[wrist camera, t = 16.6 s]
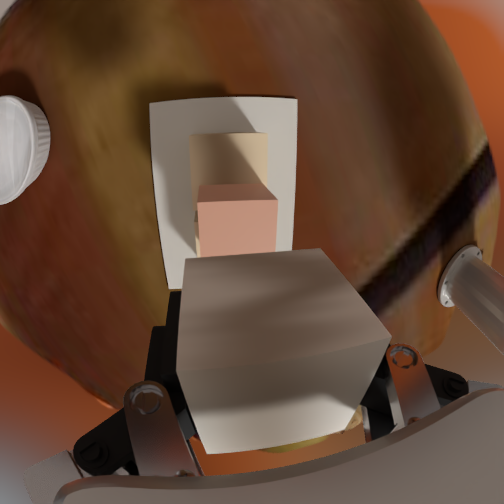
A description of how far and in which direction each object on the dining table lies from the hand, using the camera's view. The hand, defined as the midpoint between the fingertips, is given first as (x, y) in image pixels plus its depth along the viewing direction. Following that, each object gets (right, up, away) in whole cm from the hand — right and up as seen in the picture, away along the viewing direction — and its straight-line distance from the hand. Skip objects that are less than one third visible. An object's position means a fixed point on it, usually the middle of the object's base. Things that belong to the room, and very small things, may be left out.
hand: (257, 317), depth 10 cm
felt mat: (-3, +8, +16) cm, 18 cm away
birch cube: (0, 0, 0) cm, 1 cm away
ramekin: (-26, +15, +9) cm, 31 cm away
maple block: (-3, +11, +14) cm, 18 cm away
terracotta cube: (-2, +6, +12) cm, 13 cm away
